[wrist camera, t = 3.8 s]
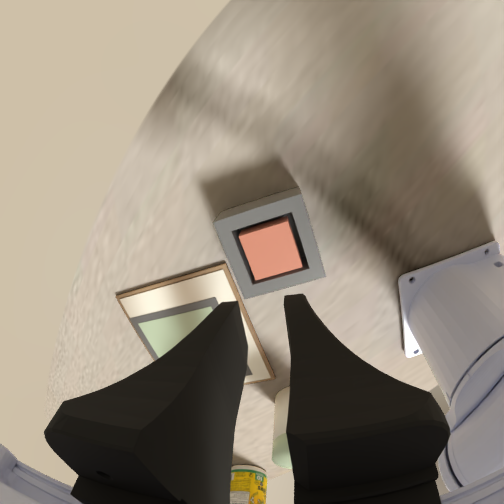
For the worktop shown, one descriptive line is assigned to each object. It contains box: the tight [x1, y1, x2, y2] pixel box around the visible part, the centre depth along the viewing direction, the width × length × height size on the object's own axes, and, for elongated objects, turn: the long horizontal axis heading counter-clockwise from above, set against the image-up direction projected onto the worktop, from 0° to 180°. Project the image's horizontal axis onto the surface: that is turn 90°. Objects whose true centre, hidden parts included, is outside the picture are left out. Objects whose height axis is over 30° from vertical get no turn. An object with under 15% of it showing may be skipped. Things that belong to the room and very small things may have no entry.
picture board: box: [116, 263, 275, 385], centre depth 23 cm, size 10×11×1 cm
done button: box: [239, 216, 302, 280], centre depth 17 cm, size 3×3×1 cm
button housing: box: [213, 187, 326, 299], centre depth 18 cm, size 5×5×2 cm
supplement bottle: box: [230, 465, 267, 504], centre depth 27 cm, size 5×5×10 cm
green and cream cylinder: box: [272, 386, 292, 469], centre depth 22 cm, size 4×4×6 cm
